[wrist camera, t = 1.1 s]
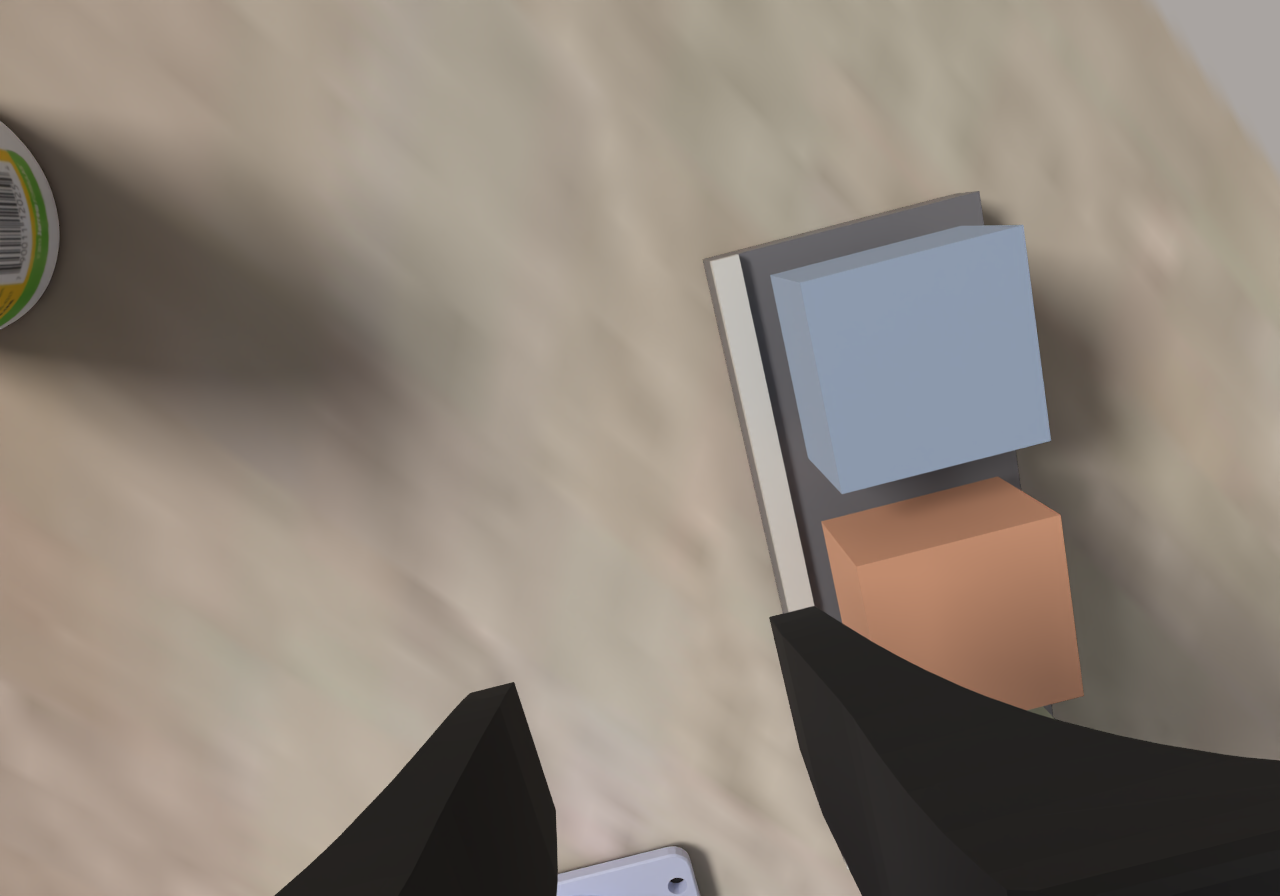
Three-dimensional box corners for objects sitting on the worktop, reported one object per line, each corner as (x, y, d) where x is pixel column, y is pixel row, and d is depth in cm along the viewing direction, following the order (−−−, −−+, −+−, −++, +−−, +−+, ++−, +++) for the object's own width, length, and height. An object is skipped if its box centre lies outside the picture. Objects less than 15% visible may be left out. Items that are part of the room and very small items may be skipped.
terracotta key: (1021, 636, 20) (1084, 696, 17) (853, 678, 20) (891, 744, 17) (997, 476, 19) (1060, 514, 16) (821, 521, 19) (856, 566, 16)
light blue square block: (988, 411, 18) (1051, 441, 16) (807, 457, 18) (842, 494, 16) (961, 225, 17) (1023, 224, 15) (770, 275, 17) (799, 282, 15)
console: (1042, 777, 23) (1071, 813, 22) (832, 830, 24) (847, 869, 22) (956, 193, 19) (985, 190, 18) (702, 259, 20) (711, 261, 18)
